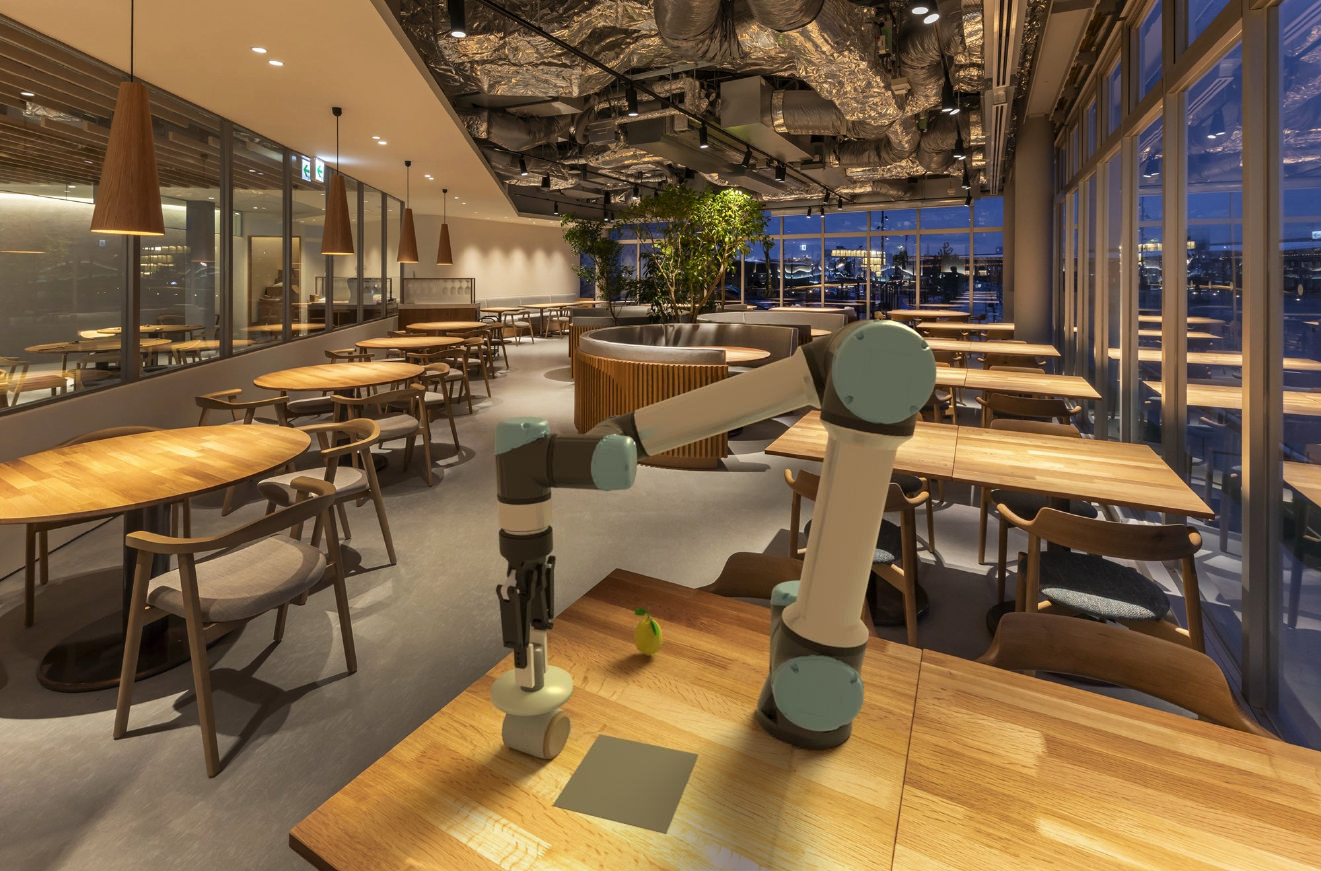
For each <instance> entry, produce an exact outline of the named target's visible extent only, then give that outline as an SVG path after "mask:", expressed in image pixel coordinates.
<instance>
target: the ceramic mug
mask: <svg viewBox="0 0 1321 871" xmlns="http://www.w3.org/2000/svg"><path fill="white" fill-rule="evenodd" d="M572 727H573V722H572V721H571V719H570V716H569V715H568V713H567V712H566V711H565V710H563V709H561V708H560V707H559V708H557V709H555V710H552V711H550V712H547V713H544V714H539V715H533V716H517V715H511V714H507V713H505V715H504V718H503V722H502V726H501V739H502V742H503V744H504V745H505V746H506V747H508V748H509V749H513V750H516V751H519V752H522V753H524V754H528V755H531V756H533V757H535V758H540V759H544V760H551V759H554V758H555V757H557V756H559V754H560V753H561V752H562V750H563V749H564V747H565V745H566V744H567V742H568V739H569V735H570V733H571V732H572Z"/></svg>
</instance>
